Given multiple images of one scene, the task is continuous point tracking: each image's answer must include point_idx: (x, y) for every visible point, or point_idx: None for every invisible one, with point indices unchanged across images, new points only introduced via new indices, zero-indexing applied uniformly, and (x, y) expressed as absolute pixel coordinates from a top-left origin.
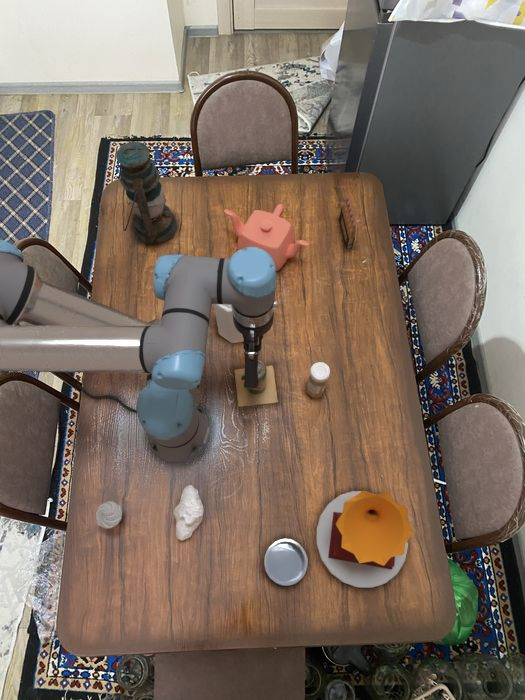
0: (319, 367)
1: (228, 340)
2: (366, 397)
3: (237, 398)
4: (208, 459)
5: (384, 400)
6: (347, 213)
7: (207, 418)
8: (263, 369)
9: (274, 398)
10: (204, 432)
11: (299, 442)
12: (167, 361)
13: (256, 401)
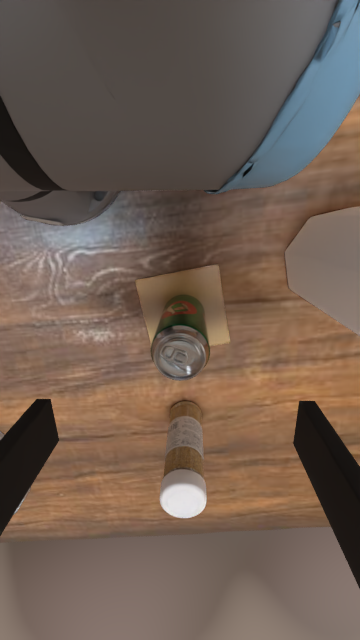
0: (191, 501)
1: (291, 243)
2: None
3: (152, 277)
4: (16, 228)
5: None
6: None
7: (92, 216)
8: (180, 375)
9: None
10: (38, 216)
11: (86, 390)
12: None
13: (150, 316)
